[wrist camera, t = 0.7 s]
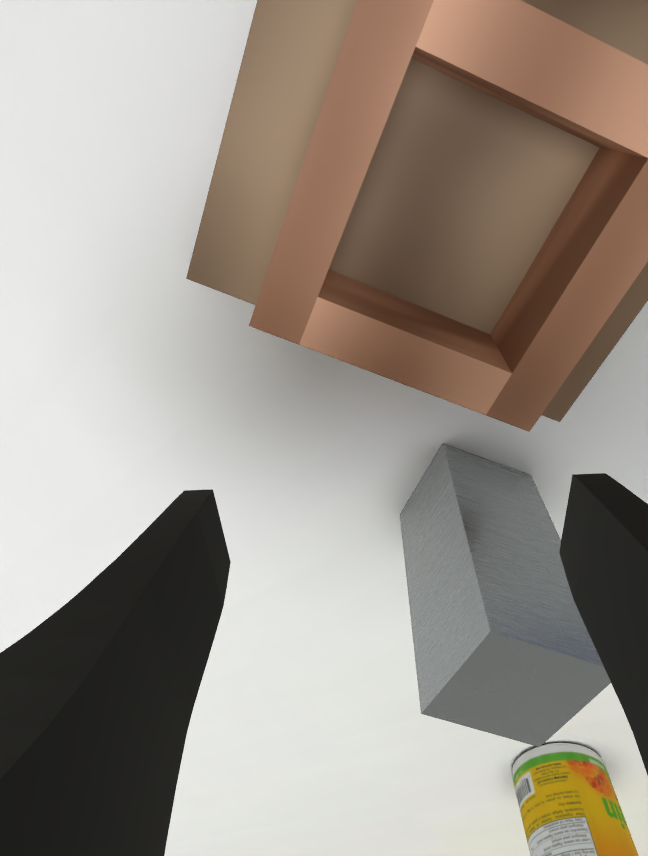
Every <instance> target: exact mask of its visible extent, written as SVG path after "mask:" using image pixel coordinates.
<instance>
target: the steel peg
mask: <svg viewBox="0 0 648 856" xmlns="http://www.w3.org/2000/svg"><path fill="white" fill-rule="evenodd" d="M400 521H401V530H402V539H403V549H404V558H405V567H406V577H407V586H408V595H409V605H410V614H411V623H412V633H413V642H414V651H415V661H416V670H417V679H418V689H419V698H420V707H421V714H424V715H428V716H431V717H435V718H439V719H442V720H446V721H449V722H453V723H456V724H460V725H463V726H467V727H471V728H474V729H478V730H481V731H485V732H488V733H492V734H495V735H499V736H503V737H506V738H510V739H513V740H517V741H520V742H524V743H527V744H531V745H534V746H538V747H540V746H541V745H542V744H543V743H545V742H546V741H547V740H548V739H549V738H550V737H551V736H552V735H553V734H555V733H556V732H557V731H558V730H559V729H560V728H561V727H562V726H563V725H565V724H566V723H567V722H568V721H569V720H570V719H571V718H572V717H573V716H574V715H576V714H577V713H578V712H579V711H580V710H581V709H582V708H583V707H584V706H586V705H587V704H588V703H589V702H590V701H591V700H592V699H593V698H594V697H596V696H597V695H598V694H599V693H600V692H601V691H602V690H603V689H604V688H606V687H607V686H608V685H609V684H610V683H611V681H610V679H609V677H608V674H607V672H606V670H605V668H604V666H603V664H602V661H601V659H600V657H599V655H598V653H597V651H596V648H595V646H594V644H593V642H592V640H591V638H590V635H589V633H588V631H587V629H586V626H585V624H584V622H583V620H582V618H581V615H580V613H579V611H578V609H577V606H576V604H575V602H574V599H573V596H572V593H571V590H570V587H569V584H568V581H567V578H566V574H565V571H564V567H563V564H562V560H561V557H560V554H559V551H560V545H561V539H560V537H559V535H558V533H557V531H556V529H555V526H554V524H553V522H552V520H551V518H550V516H549V514H548V511H547V509H546V507H545V505H544V503H543V501H542V498H541V496H540V494H539V492H538V490H537V488H536V485H535V483H534V481H533V479H532V477H531V475H528V474H526V473H523V472H520V471H517V470H515V469H512V468H509V467H506V466H504V465H501V464H498V463H495V462H493V461H490V460H487V459H484V458H482V457H479V456H476V455H473V454H471V453H468V452H465V451H463V450H460V449H457V448H454V447H452V446H449V445H446V444H442V446H441V447H440V449H439V451H438V452H437V454H436V456H435V457H434V459H433V461H432V462H431V464H430V466H429V467H428V469H427V471H426V472H425V474H424V476H423V477H422V479H421V481H420V482H419V484H418V486H417V487H416V489H415V491H414V492H413V494H412V495H411V497H410V499H409V500H408V502H407V504H406V505H405V507H404V509H403V510H402V512H401V514H400Z"/></svg>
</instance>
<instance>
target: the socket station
mask: <svg viewBox="0 0 648 856" xmlns="http://www.w3.org/2000/svg"><path fill="white" fill-rule="evenodd" d="M186 279H189V280H192V281H194V282H197V283H199V284H202V285H205V286H207V287H210V288H212V289H215V290H218V291H220V292H223V293H225V294H228V295H231V296H233V297H236V298H238V299H241V300H244V301H246V302H249V303H251V304H254V305H256V306H255V309H254V312H253V315H252V318H251V321H250V324H249V326H251V327H254V328H256V329H259V330H262V331H264V332H267V333H270V334H272V335H275V336H277V337H280V338H283V339H285V340H288V341H291V342H293V343H296V344H299V345H301V346H304V347H307V348H309V349H312V350H315V351H317V352H320V353H323V354H325V355H328V356H330V357H333V358H336V359H338V360H341V361H344V362H346V363H349V364H352V365H354V366H357V367H360V368H362V369H365V370H368V371H370V372H373V373H375V374H378V375H381V376H383V377H386V378H389V379H391V380H394V381H397V382H399V383H402V384H405V385H407V386H410V387H413V388H415V389H418V390H420V391H423V392H426V393H428V394H431V395H434V396H436V397H439V398H442V399H444V400H447V401H450V402H452V403H455V404H458V405H460V406H463V407H466V408H468V409H471V410H473V411H476V412H479V413H481V414H484V415H487V416H489V417H492V418H495V419H497V420H500V421H503V422H505V423H508V424H511V425H513V426H516V427H518V428H521V429H524V430H526V431H530V430H531V429H532V427H533V426H534V424H535V423H536V421H537V420H538V419H539V417H540V416H541V415H543V416H546V417H548V418H551V419H553V420H556V421H559V422H560V421H561V420H562V418H563V417H564V415H565V414H566V413H567V411H568V410H569V409H570V407H571V406H572V404H573V403H574V402H575V400H576V399H577V398H578V396H579V395H580V393H581V392H582V391H583V389H584V388H585V386H586V385H587V384H588V382H589V381H590V380H591V378H592V377H593V375H594V374H595V373H596V371H597V370H598V368H599V367H600V366H601V364H602V363H603V362H604V360H605V359H606V357H607V356H608V355H609V353H610V352H611V350H612V349H613V348H614V346H615V345H616V344H617V342H618V341H619V339H620V338H621V337H622V335H623V334H624V332H625V331H626V330H627V328H628V327H629V326H630V324H631V323H632V321H633V320H634V319H635V317H636V316H637V314H638V313H639V312H640V310H641V309H642V308H643V306H644V305H645V303H646V302H647V301H648V0H258V1H257V4H256V8H255V12H254V16H253V20H252V24H251V28H250V32H249V36H248V40H247V44H246V47H245V51H244V55H243V59H242V63H241V67H240V71H239V75H238V79H237V83H236V87H235V90H234V94H233V98H232V102H231V106H230V110H229V114H228V118H227V122H226V126H225V130H224V133H223V137H222V141H221V145H220V149H219V153H218V157H217V161H216V165H215V169H214V173H213V176H212V180H211V184H210V188H209V192H208V196H207V200H206V204H205V208H204V212H203V216H202V219H201V223H200V227H199V231H198V235H197V239H196V243H195V247H194V251H193V255H192V259H191V262H190V266H189V270H188V274H187V278H186Z"/></svg>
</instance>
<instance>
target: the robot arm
mask: <svg viewBox="0 0 648 856" xmlns="http://www.w3.org/2000/svg"><path fill="white" fill-rule="evenodd" d="M559 554H560V557H561V560H562V564H563V567H564V571H565V574H566V578H567V581H568V584H569V587H570V590H571V593H572V596H573V599H574V602H575V604H576V606H577V609H578V611H579V613H580V615H581V618H582V620H583V622H584V624H585V626H586V629H587V631H588V633H589V635H590V638H591V640H592V642H593V644H594V646H595V648H596V651H597V653H598V655H599V657H600V659H601V661H602V664H603V666H604V668H605V670H606V672H607V674H608V677H609V679H610V681H611V683H612V685H613V688H614V690H615V692H616V694H617V696H618V698H619V701H620V703H621V705H622V707H623V709H624V712H625V714H626V717H627V719H628V722H629V724H630V727H631V729H632V731H633V734H634V737H635V740H636V743H637V745H638V748H639V751H640V754H641V757H642V760H643V763H644V766H645V769H646V771H647V774H648V504H647V503H645V502H644V501H643V500H641V499H640V498H639V497H637V496H636V495H635V494H633V493H632V492H631V491H629V490H628V489H627V488H625V487H624V486H623V485H621V484H620V483H618V482H617V481H616V480H614V479H613V478H611V477H610V476H608V475H607V474H605V473H604V474H579V475H573V476H572V482H571V488H570V493H569V499H568V505H567V511H566V516H565V522H564V528H563V534H562V539H561V545H560V551H559ZM229 568H230V558H229V554H228V550H227V546H226V542H225V538H224V534H223V530H222V526H221V521H220V517H219V513H218V509H217V505H216V501H215V497H214V493H213V490H190V491H184V492H183V493H181V494H180V495H179V496H178V497H177V498H176V499H175V500H174V501H173V502H172V503H171V504H170V505H169V506H168V507H167V509H166V510H165V511H164V512H163V513H162V514H161V515H160V516H159V517H158V518H157V519H156V520H155V521H154V522H153V523H152V524H151V525H150V526H149V527H148V528H147V529H146V530H145V531H144V532H143V533H142V534H141V535H140V536H139V537H138V538H137V539H136V540H135V541H134V542H133V543H132V544H131V545H130V546H129V547H128V548H127V549H126V550H125V551H124V552H123V553H122V554H121V555H120V556H119V557H118V558H117V559H116V560H115V561H114V562H112V563H111V564H110V565H109V566H108V567H107V568H106V569H105V570H104V571H103V572H102V573H100V574H99V575H98V576H97V577H96V578H95V579H94V580H93V581H92V582H91V583H89V584H88V585H87V586H86V587H85V588H84V589H83V590H82V591H81V592H80V593H78V594H77V595H76V596H75V597H74V598H72V599H71V600H70V601H69V602H68V603H66V604H65V605H64V606H63V607H62V608H60V609H59V610H58V611H57V612H55V613H54V614H53V615H52V616H50V617H49V618H48V619H46V620H45V621H44V622H43V623H41V624H40V625H39V626H37V627H36V628H35V629H34V630H32V631H31V632H30V633H28V634H27V635H26V636H24V637H23V638H21V639H20V640H19V641H17V642H16V643H14V644H13V645H11V646H10V647H8V648H7V649H6V650H4V651H3V652H1V653H0V856H164V853H165V847H166V841H167V835H168V829H169V824H170V818H171V812H172V807H173V801H174V796H175V790H176V784H177V779H178V774H179V769H180V764H181V759H182V754H183V749H184V744H185V739H186V734H187V730H188V726H189V722H190V718H191V714H192V710H193V707H194V703H195V700H196V697H197V693H198V690H199V687H200V683H201V680H202V677H203V673H204V670H205V667H206V663H207V660H208V657H209V653H210V650H211V647H212V643H213V640H214V637H215V633H216V630H217V626H218V623H219V620H220V616H221V612H222V609H223V605H224V599H225V593H226V587H227V581H228V574H229Z"/></svg>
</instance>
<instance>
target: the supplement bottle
mask: <svg viewBox="0 0 648 856" xmlns="http://www.w3.org/2000/svg"><path fill="white" fill-rule="evenodd" d="M512 776H513V781H514V786H515V791H516V795H517V799H518V804H519V808H520V812H521V817H522V821H523V825H524V829H525V834H526V838H527V842H528V847H529V851H530V855H531V856H638V853H637V850H636V848H635V845H634V842H633V840H632V837H631V834H630V832H629V829H628V826H627V824H626V821H625V818H624V816H623V813H622V810H621V807H620V805H619V802H618V799H617V797H616V794H615V791H614V788H613V786H612V783H611V780H610V777H609V775H608V772H607V770H606V767H605V765H604V762H603V761H602V759H601V758H600V756H599V755H598V754H597V753H595V752H594V751H592V750H591V749H589V748H586V747H584V746H581V745H577V744H570V743H551V744H546V745H542V746H540V747H536V748H533V749H531V750H529V751H527V752H525V753H524V754H522V755H521V756H520V757H519V758H518V759H517V760H516V762H515V763H514V765H513V769H512Z"/></svg>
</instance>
